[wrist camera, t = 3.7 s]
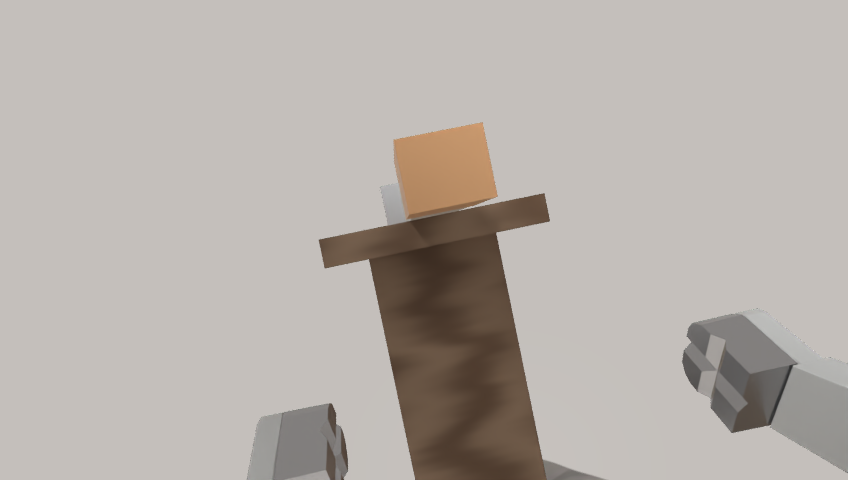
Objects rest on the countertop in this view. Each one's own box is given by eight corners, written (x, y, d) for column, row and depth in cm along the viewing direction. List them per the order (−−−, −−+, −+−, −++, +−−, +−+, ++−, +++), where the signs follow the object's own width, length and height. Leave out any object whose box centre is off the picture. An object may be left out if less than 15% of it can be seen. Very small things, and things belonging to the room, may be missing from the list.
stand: (421, 724, 25) (318, 239, 24) (412, 548, 39) (347, 238, 38) (639, 666, 26) (544, 193, 25) (553, 514, 40) (491, 208, 39)
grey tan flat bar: (379, 221, 16) (360, 130, 15) (389, 229, 38) (382, 192, 38) (526, 190, 16) (508, 101, 16) (449, 216, 39) (442, 180, 39)
